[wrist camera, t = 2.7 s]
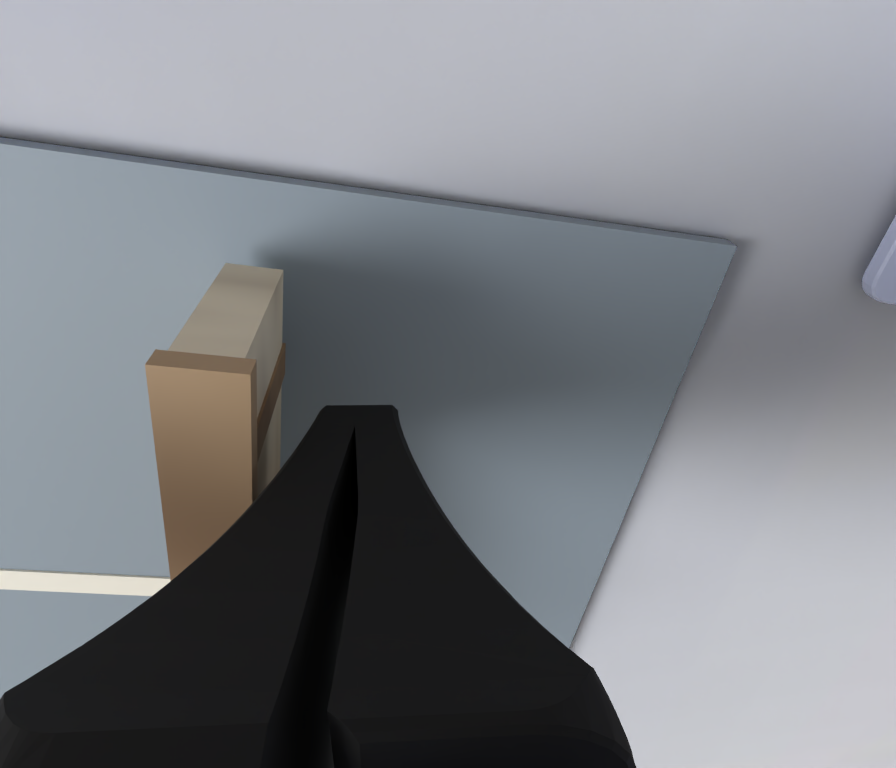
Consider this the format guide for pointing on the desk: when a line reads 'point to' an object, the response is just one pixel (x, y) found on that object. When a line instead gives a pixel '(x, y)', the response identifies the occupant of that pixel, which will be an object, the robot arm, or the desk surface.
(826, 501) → the desk surface
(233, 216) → the board
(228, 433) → the fence panel
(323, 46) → the desk surface
